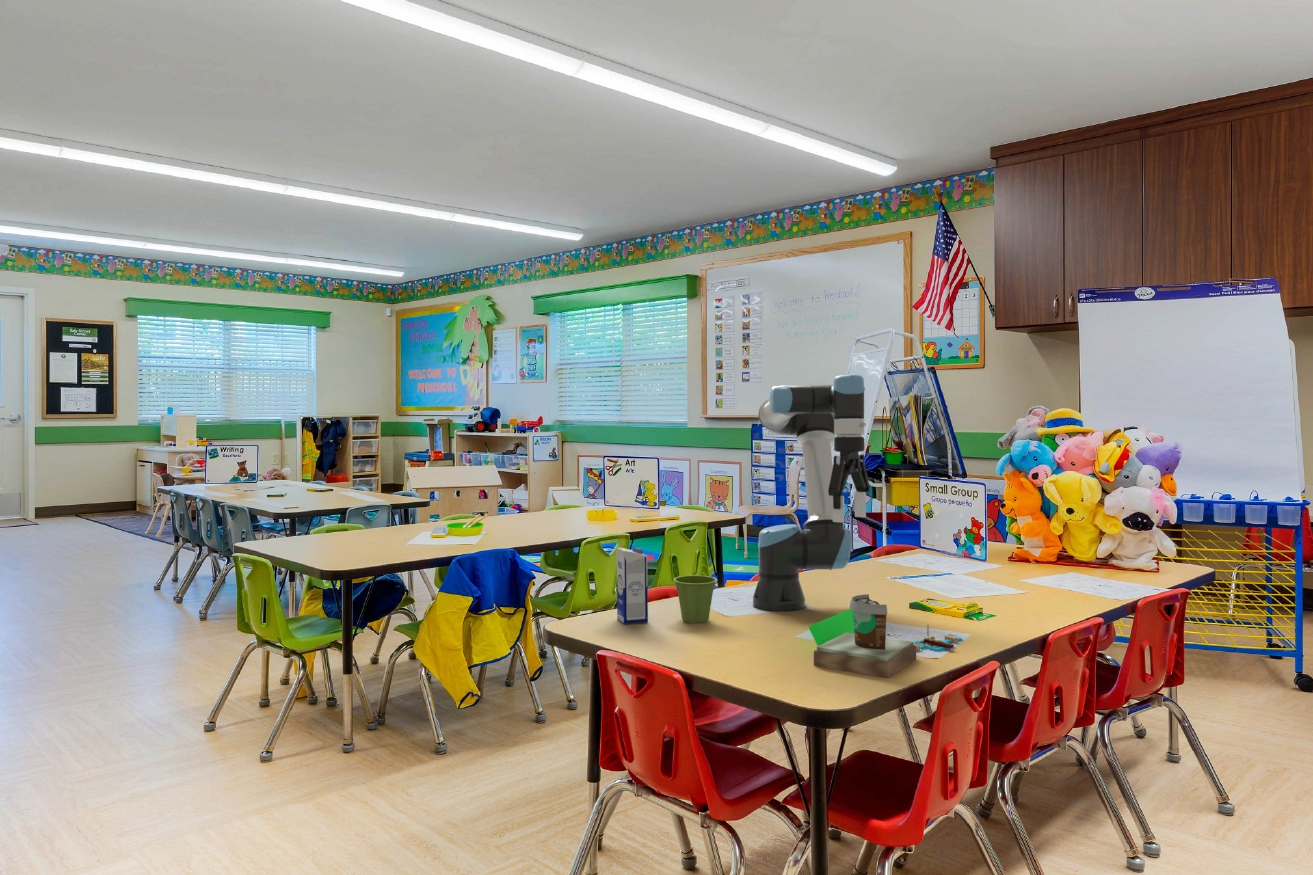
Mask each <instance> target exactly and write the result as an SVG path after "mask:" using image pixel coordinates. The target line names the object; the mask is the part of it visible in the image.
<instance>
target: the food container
mask: <svg viewBox="0 0 1313 875" xmlns="http://www.w3.org/2000/svg"><path fill="white" fill-rule="evenodd" d="M848 607H849V609H851V610H852V612H853V624H854V636H855V644H856V645H857V646H860V647H863V648H868V649H880V650H884V649H885V641H886V638H887V637H886V635H887V615H888V607H887V604H880V603H879V602H878V601H875V600H872V599H870V594H858V595H854V596H852V597H851V600H850V601H849V606H848Z"/></svg>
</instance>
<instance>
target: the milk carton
mask: <svg viewBox="0 0 1313 875" xmlns="http://www.w3.org/2000/svg"><path fill="white" fill-rule="evenodd" d="M648 582H649V581H648V555H646V554H644V549H643V548H639V547H635V546H634V547H633V548H632V549H627V548H624V547H616V606H617V607H616V608H617V610H616V611H617V614H616V615H617V620H618V621H619V622H620V623H621V624H623V625H632V624H633V625H635V624H644V623H645V624H647V623H649V612H648V611H649V601H648V600H649V597H648V595H649V594H648V591H649V589H648V588H649V587H648Z"/></svg>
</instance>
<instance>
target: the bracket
mask: <svg viewBox="0 0 1313 875" xmlns="http://www.w3.org/2000/svg"><path fill="white" fill-rule="evenodd" d="M808 630H809V633H810V634H811V636H812V638H813V639H814V641H815V643H816V645H817V647H818V646H820V645H822V644H824V643H826V642H828V641H830V640H832V639H834V638H836V637H838V636H840V635H842V634H844V633H846V632H848V633H854V624H853V612H852V610H851V609H850V608H849V609H847V610H845V611H844V610H843V611H842V612H839V613H836V614H834V615H832V616H830V617H829V616H828V617H827V618H825V619H823V620H821V621H818V622H816V623H813V624H812V625H810V626H808Z"/></svg>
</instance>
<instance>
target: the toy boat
mask: <svg viewBox="0 0 1313 875" xmlns="http://www.w3.org/2000/svg"><path fill="white" fill-rule="evenodd" d="M963 641H964V640H963V638H962V637H957V636H952V635H944V640H941V639H938V638H936V637H935V636H930V625H929V624H926V636H925V637H924V639H919V640H914V641H912V642H913V645H916V653H917V652H921V650H928V649H929V651H932V650H933V651H932V652H935V653H936V652H942V650H943V651H946V650H945V649H947V650H951V649H955V645H956V644H959V642H963ZM923 643H925V644H923ZM953 643H954V644H953ZM933 645H934V646H933ZM920 649H921V650H920Z"/></svg>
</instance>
